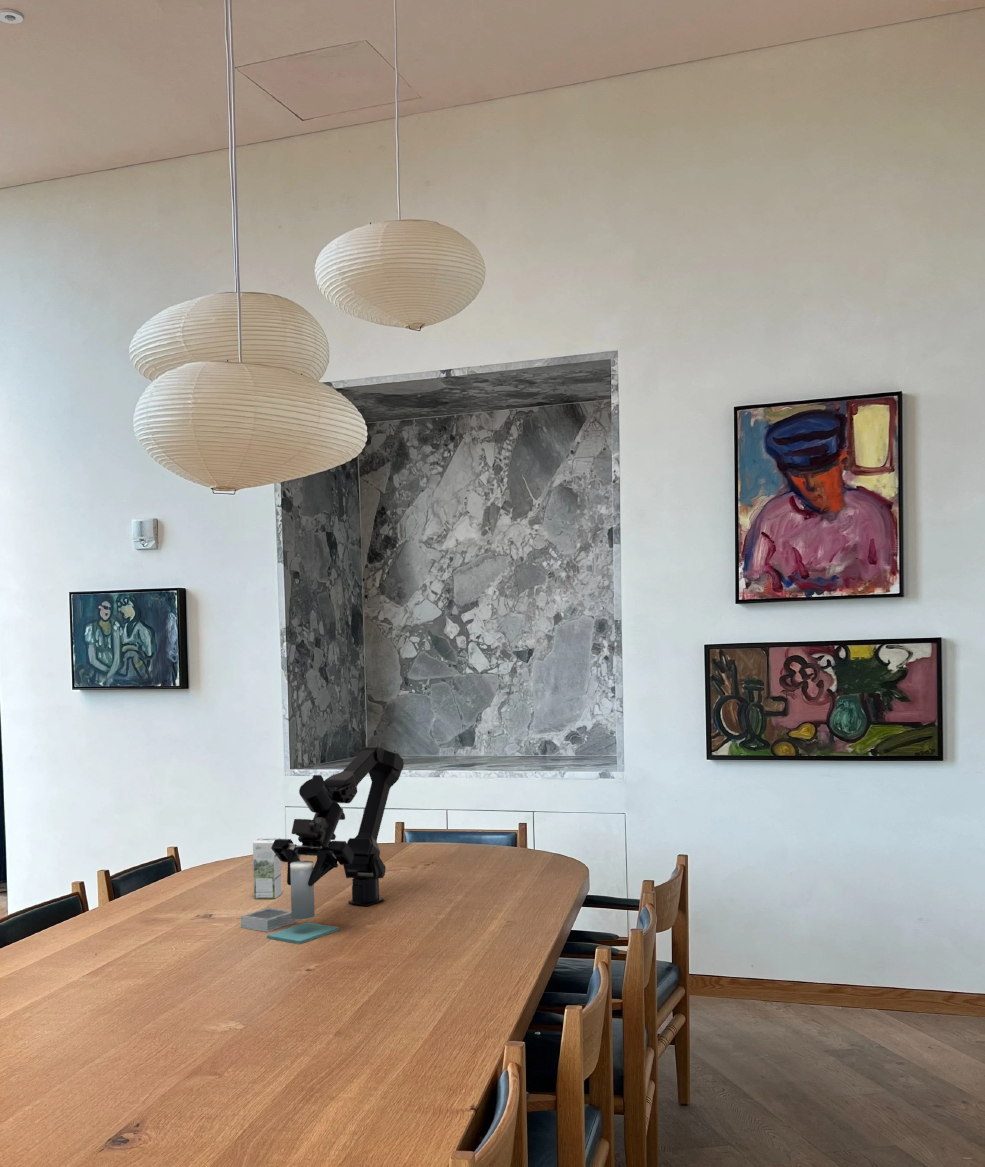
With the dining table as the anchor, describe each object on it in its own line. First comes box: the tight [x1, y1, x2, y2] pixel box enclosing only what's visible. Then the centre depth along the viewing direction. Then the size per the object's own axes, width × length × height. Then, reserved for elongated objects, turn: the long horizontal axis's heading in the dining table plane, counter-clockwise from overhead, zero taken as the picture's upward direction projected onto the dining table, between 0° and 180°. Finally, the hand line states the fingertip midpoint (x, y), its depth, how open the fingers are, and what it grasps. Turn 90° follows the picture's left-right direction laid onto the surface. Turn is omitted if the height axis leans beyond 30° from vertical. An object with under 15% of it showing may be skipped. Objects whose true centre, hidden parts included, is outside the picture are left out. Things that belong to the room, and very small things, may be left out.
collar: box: [240, 907, 296, 933], centre depth 227 cm, size 9×9×2 cm
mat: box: [266, 921, 340, 945], centre depth 218 cm, size 12×10×1 cm
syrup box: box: [252, 837, 283, 900], centre depth 256 cm, size 6×6×14 cm
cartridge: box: [290, 860, 315, 920], centre depth 219 cm, size 5×5×12 cm
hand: (298, 884), depth 218 cm, fingers closed on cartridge, 5 cm apart
